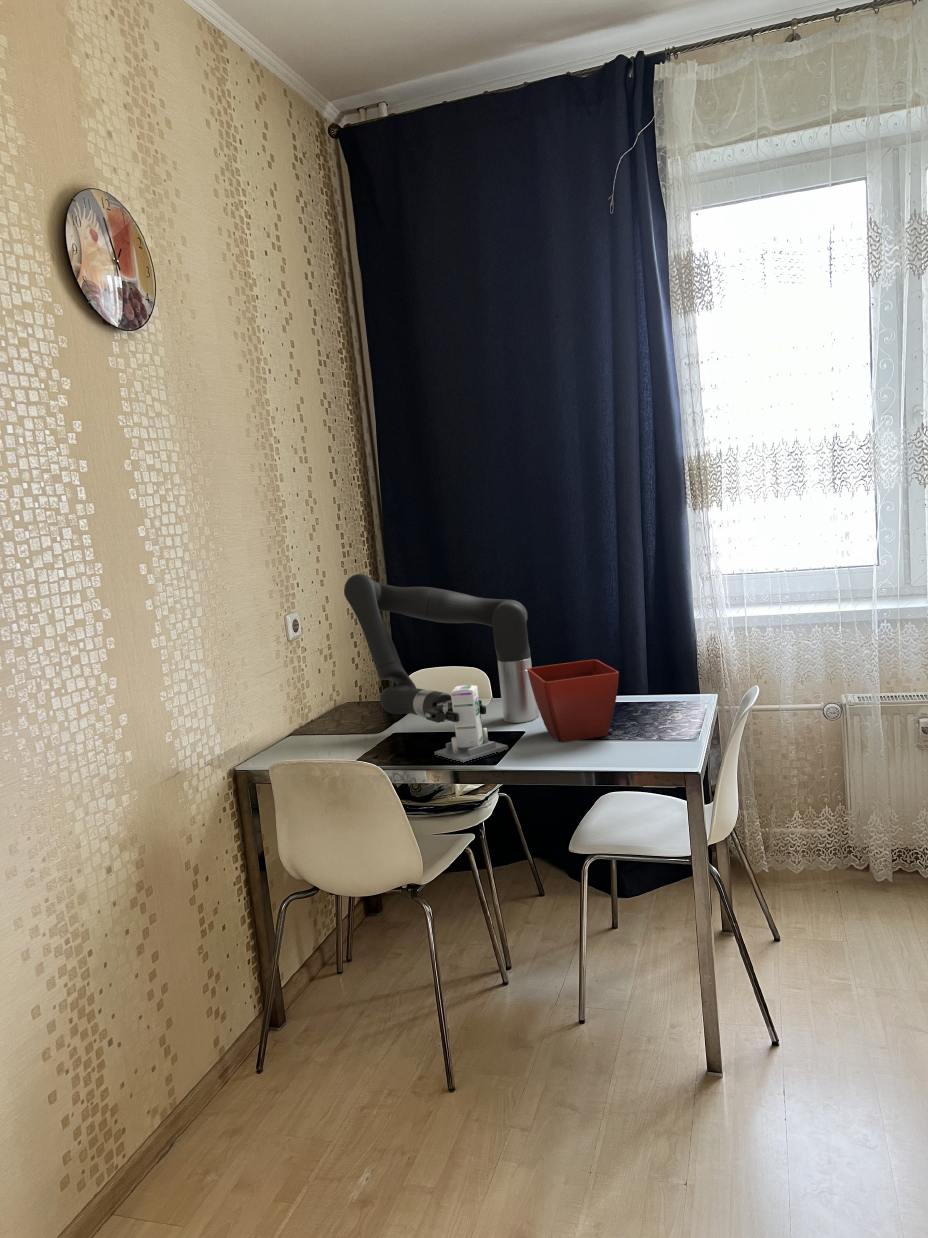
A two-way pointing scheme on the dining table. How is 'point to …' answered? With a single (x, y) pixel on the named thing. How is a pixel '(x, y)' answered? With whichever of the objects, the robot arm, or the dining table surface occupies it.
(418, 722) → the dining table surface
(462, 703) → the syrup box
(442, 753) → the pegged rail plate
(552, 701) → the plant pot
